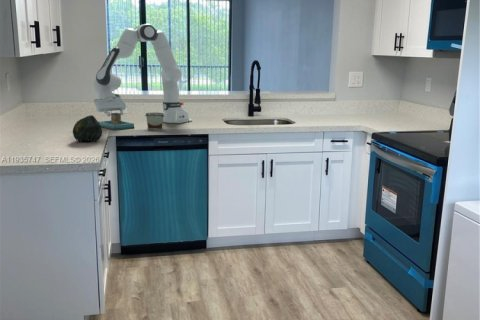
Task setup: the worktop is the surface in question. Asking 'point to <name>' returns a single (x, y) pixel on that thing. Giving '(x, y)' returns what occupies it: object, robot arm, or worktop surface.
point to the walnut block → (116, 118)
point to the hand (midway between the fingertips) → (115, 115)
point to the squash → (87, 129)
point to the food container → (154, 120)
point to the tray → (116, 127)
